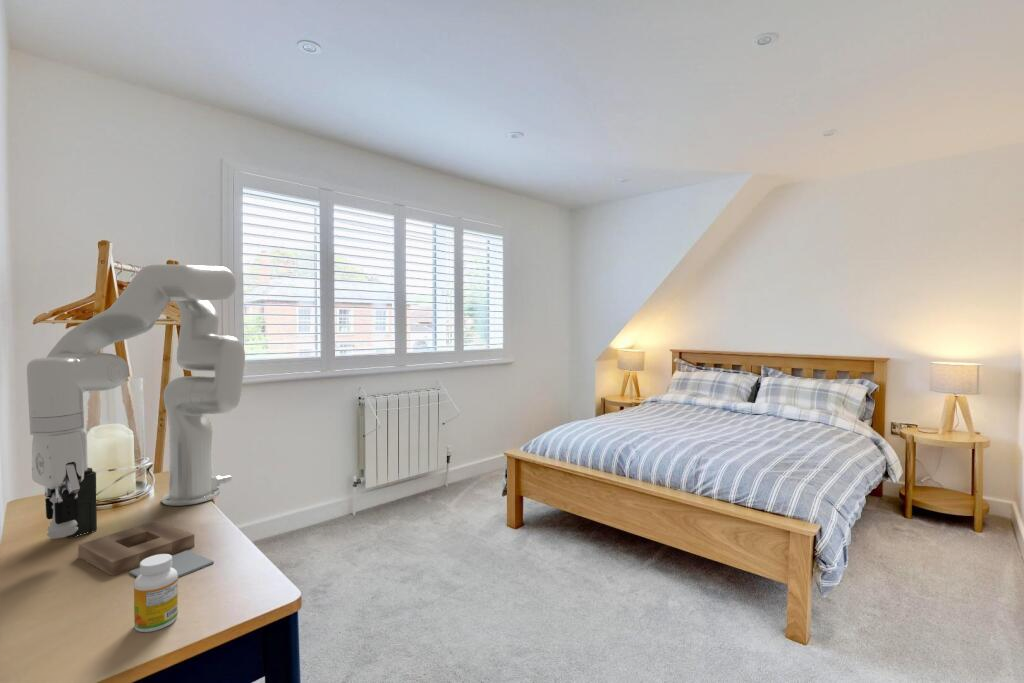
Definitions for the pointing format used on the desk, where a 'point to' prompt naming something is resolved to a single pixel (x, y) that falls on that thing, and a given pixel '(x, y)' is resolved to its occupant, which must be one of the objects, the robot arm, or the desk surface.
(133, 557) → the collar block
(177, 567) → the rubber mat
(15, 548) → the desk surface
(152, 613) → the supplement bottle
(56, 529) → the rook chess piece
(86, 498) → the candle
